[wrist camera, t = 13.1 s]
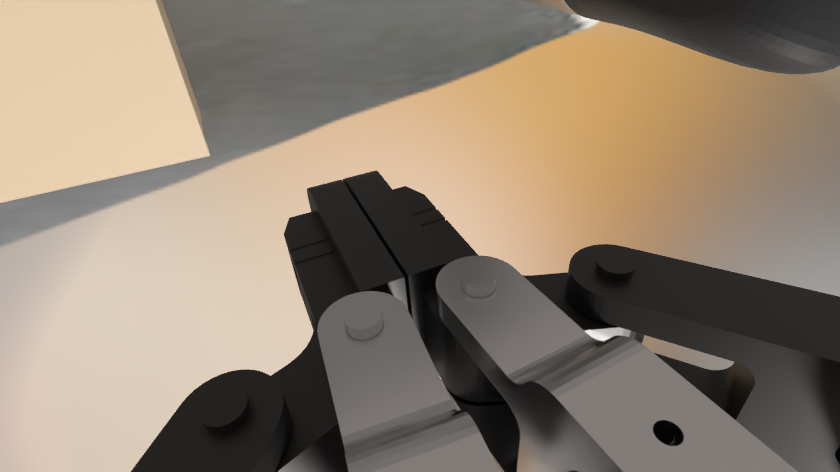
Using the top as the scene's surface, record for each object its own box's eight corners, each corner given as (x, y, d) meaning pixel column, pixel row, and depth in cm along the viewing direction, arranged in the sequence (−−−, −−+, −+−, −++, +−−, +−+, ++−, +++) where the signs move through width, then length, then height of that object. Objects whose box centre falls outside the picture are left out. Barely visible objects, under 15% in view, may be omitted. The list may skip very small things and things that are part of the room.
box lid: (112, -126, 26) (110, -127, 25) (209, 151, 35) (210, 156, 35) (-302, -101, 21) (-318, -101, 20) (-62, 211, 31) (-67, 218, 30)
